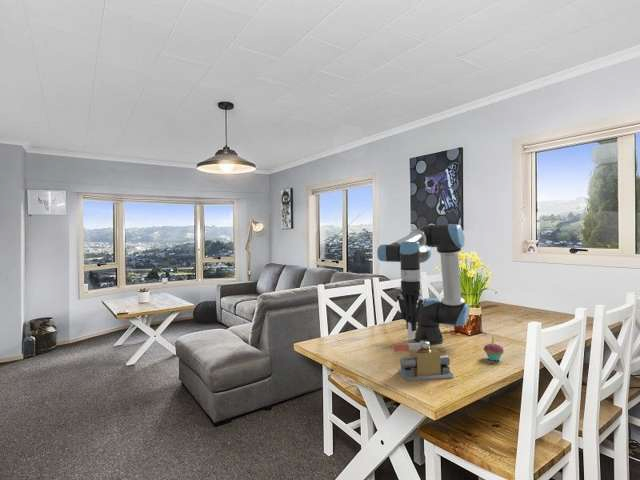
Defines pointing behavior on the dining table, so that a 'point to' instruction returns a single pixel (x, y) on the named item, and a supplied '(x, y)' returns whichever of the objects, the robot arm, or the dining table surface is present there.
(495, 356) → the cupcake
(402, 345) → the lever
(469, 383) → the dining table surface
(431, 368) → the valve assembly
